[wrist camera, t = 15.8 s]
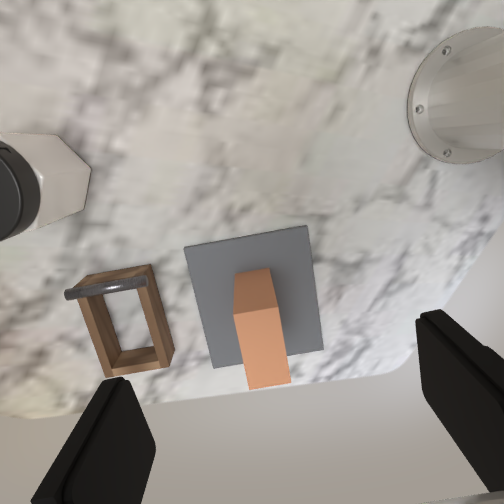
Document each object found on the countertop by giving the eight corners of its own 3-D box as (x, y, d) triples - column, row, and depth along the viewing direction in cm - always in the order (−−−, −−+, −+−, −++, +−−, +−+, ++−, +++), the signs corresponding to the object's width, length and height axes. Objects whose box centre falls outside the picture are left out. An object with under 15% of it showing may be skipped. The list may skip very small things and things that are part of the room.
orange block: (269, 267, 40) (278, 306, 30) (279, 328, 42) (291, 382, 32) (234, 273, 40) (232, 314, 30) (247, 334, 42) (249, 389, 33)
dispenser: (154, 262, 40) (143, 277, 35) (178, 349, 43) (171, 372, 39) (82, 275, 40) (62, 291, 35) (112, 360, 43) (97, 385, 39)
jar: (77, 128, 35) (-1, 120, 24) (104, 206, 38) (45, 233, 26) (-7, 147, 35) (-125, 148, 24) (25, 223, 38) (-68, 257, 26)
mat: (306, 225, 39) (307, 226, 38) (322, 347, 44) (323, 349, 43) (184, 247, 39) (183, 248, 39) (213, 365, 44) (213, 368, 43)
